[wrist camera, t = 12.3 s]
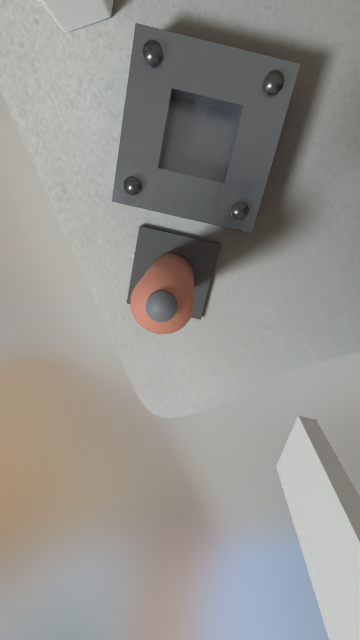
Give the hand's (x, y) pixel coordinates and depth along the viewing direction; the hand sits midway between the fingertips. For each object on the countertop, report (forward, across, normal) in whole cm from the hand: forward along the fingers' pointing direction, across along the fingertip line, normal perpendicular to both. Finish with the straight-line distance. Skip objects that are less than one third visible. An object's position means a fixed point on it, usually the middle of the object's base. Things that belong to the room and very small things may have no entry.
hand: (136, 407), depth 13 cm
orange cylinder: (+25, 0, 0) cm, 25 cm away
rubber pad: (+25, 0, 0) cm, 25 cm away
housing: (+25, +1, -14) cm, 29 cm away
